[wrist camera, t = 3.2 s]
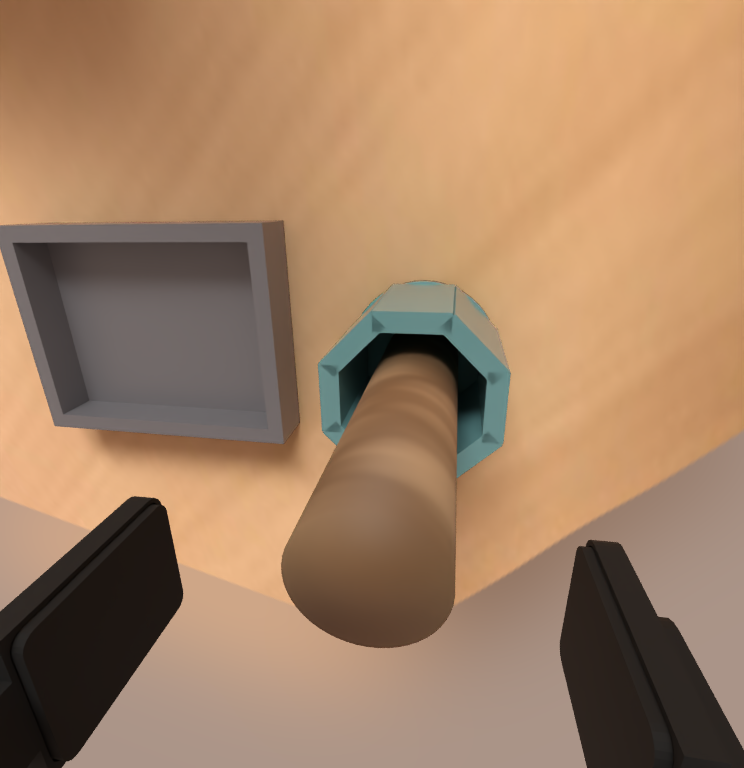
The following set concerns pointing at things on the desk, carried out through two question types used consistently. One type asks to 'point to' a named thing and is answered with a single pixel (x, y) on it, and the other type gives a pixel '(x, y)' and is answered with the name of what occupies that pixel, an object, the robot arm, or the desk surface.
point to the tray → (159, 325)
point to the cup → (423, 316)
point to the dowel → (385, 507)
